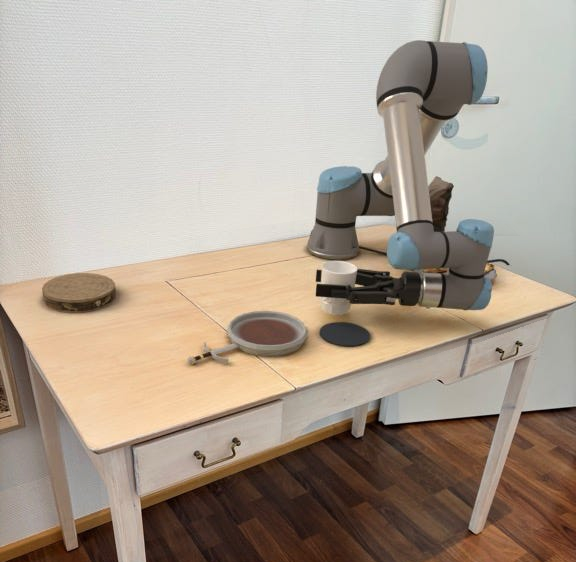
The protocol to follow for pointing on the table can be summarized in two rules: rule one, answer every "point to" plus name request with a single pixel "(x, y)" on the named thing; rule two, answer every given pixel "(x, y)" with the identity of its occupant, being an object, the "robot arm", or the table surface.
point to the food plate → (488, 272)
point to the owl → (439, 202)
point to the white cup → (337, 276)
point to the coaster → (344, 334)
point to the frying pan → (261, 335)
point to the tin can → (79, 292)
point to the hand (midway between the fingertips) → (316, 282)
